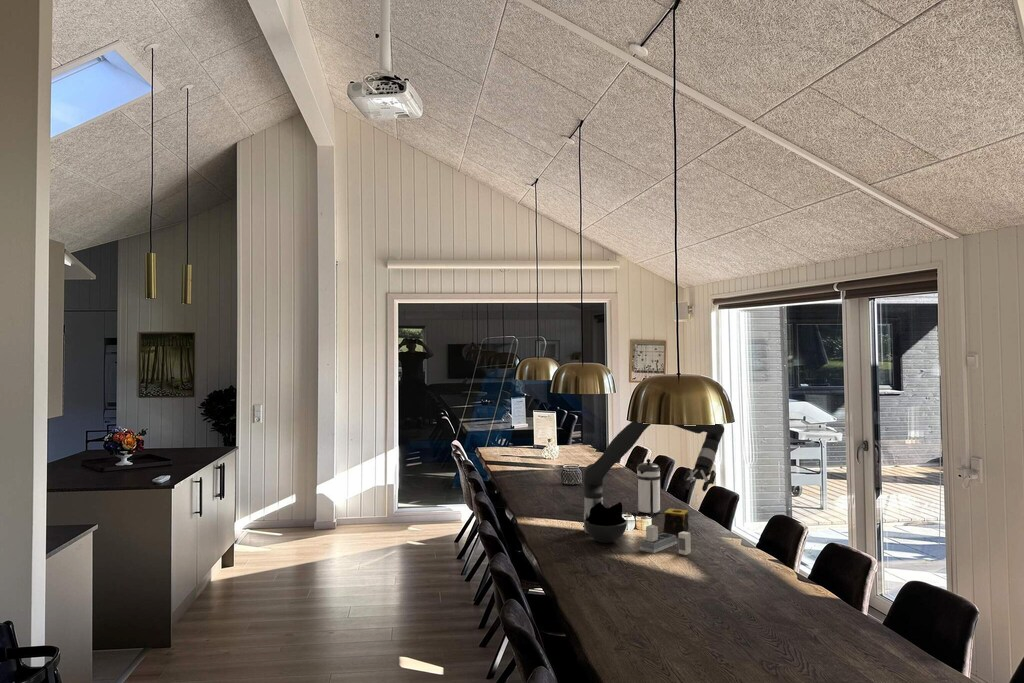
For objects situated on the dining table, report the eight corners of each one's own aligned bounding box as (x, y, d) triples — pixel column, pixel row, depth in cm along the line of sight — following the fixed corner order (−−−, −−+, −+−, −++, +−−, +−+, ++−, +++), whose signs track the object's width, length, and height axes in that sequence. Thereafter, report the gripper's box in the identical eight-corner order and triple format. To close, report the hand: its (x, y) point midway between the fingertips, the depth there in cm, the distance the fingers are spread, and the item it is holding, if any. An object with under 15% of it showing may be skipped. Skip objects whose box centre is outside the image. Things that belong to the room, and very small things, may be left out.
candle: (663, 532, 340) (663, 512, 341) (668, 527, 349) (668, 508, 350) (684, 535, 336) (683, 514, 336) (689, 530, 345) (688, 510, 345)
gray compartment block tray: (653, 553, 306) (653, 529, 306) (639, 550, 311) (639, 526, 311) (677, 543, 320) (677, 521, 320) (663, 541, 325) (663, 518, 325)
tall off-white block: (685, 555, 303) (685, 534, 303) (678, 553, 305) (677, 533, 305) (690, 553, 306) (690, 532, 306) (683, 551, 308) (683, 531, 308)
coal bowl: (577, 544, 320) (577, 504, 320) (593, 534, 337) (593, 495, 337) (619, 550, 310) (618, 508, 310) (632, 539, 328) (632, 499, 328)
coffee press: (667, 516, 372) (666, 461, 372) (637, 516, 372) (637, 461, 372) (660, 509, 389) (660, 456, 389) (632, 509, 389) (632, 456, 390)
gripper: (688, 454, 327) (677, 483, 318) (716, 456, 317) (705, 486, 309) (695, 463, 330) (684, 492, 322) (722, 465, 320) (712, 495, 312)
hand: (695, 489), depth 315 cm, fingers open, 8 cm apart
